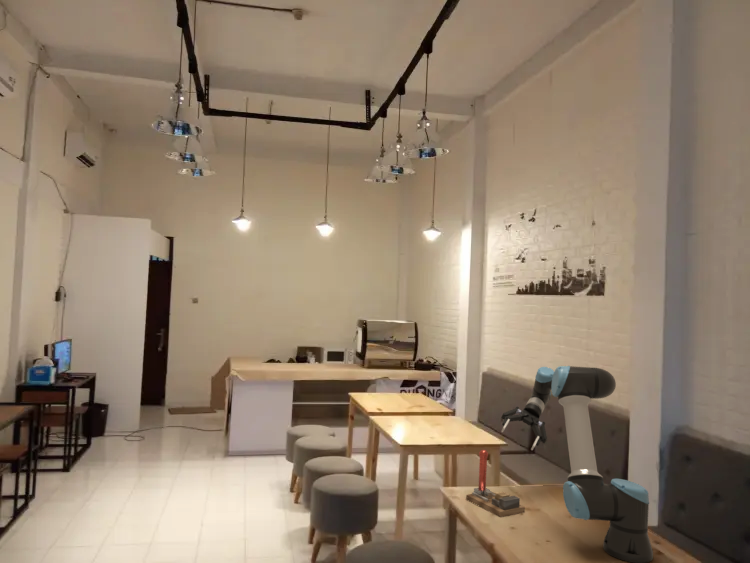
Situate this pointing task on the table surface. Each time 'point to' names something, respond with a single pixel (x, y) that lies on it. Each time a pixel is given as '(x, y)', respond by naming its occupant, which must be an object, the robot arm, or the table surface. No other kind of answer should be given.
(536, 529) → the table surface
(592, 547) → the table surface
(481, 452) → the press lever
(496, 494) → the block
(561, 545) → the table surface
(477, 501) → the press bed
